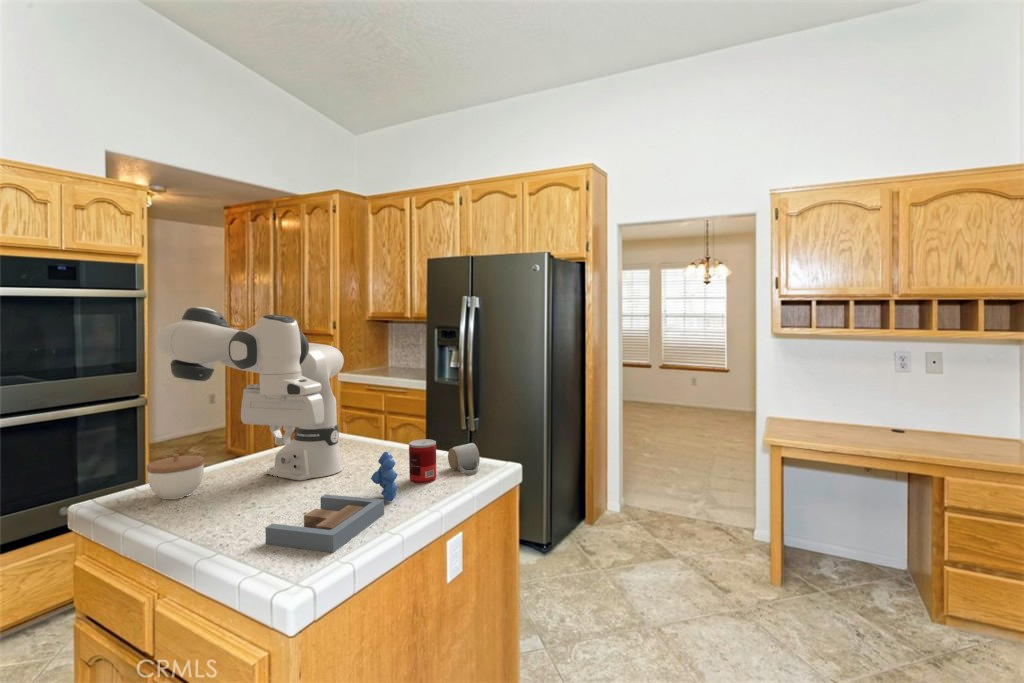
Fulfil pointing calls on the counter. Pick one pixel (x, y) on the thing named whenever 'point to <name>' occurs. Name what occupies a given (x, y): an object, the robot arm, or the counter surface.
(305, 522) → the t block
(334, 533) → the bay
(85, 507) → the counter surface
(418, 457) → the canned food
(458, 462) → the ceramic mug
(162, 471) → the lidded bowl
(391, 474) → the grapes
